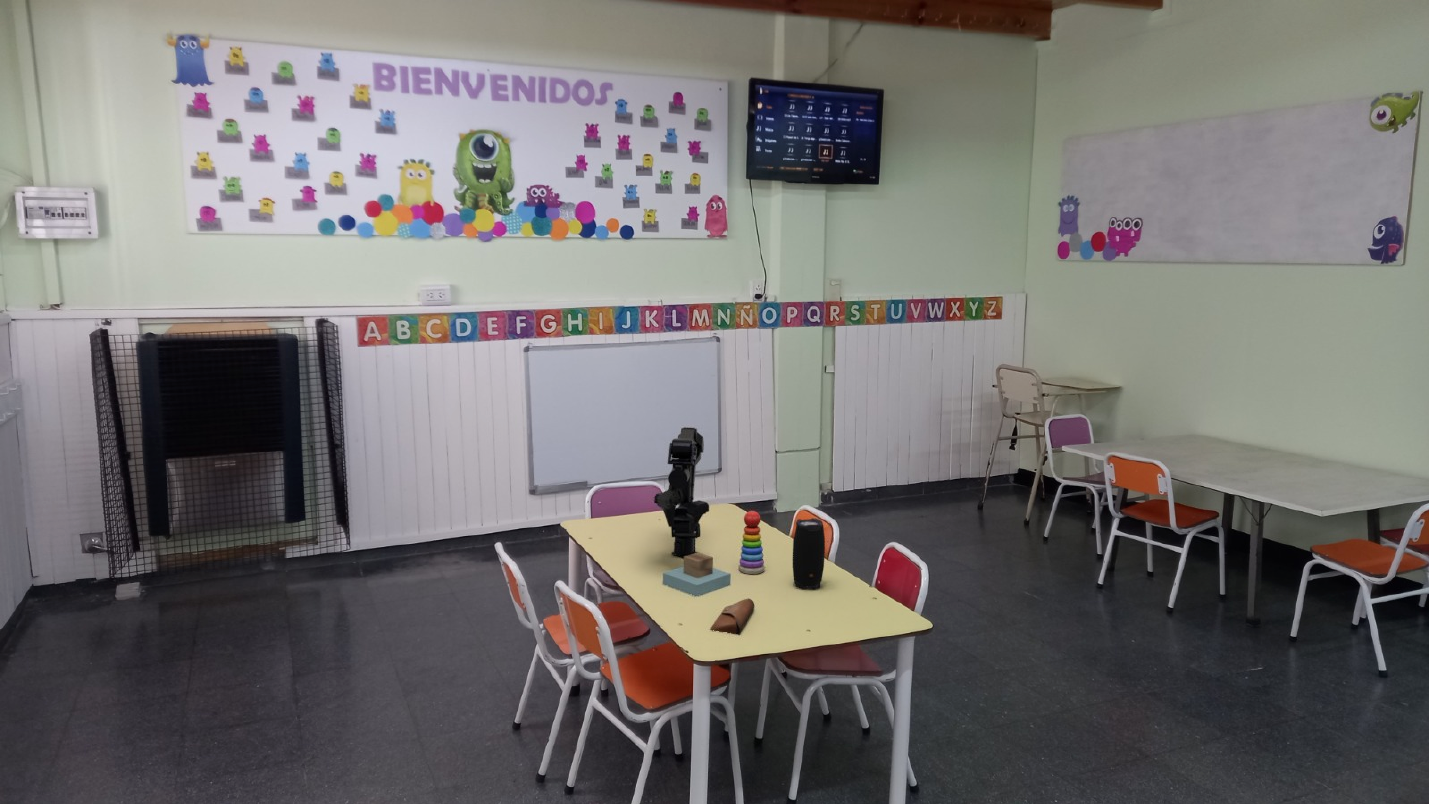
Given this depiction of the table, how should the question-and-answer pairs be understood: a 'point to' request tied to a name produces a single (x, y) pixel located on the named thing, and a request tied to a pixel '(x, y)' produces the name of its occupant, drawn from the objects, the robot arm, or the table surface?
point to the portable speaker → (808, 553)
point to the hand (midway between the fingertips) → (680, 530)
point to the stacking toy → (751, 545)
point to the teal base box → (696, 581)
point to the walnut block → (698, 565)
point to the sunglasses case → (734, 617)
